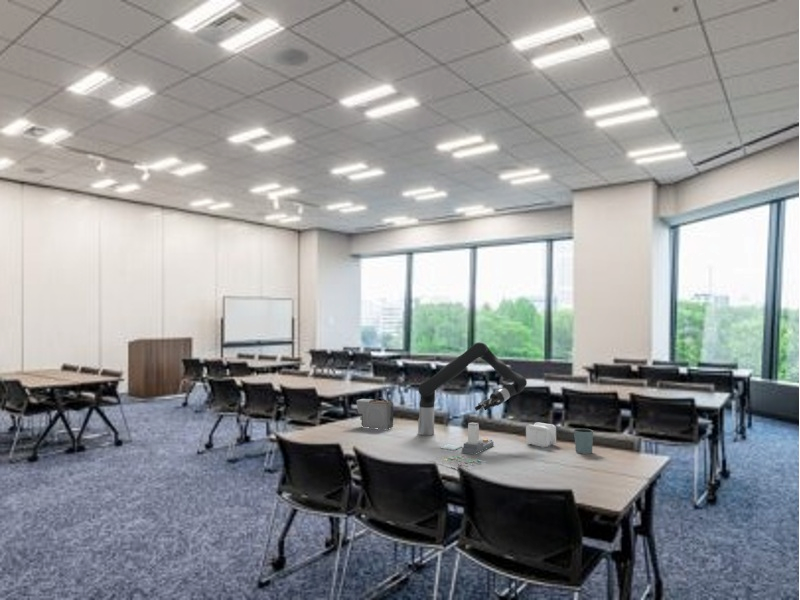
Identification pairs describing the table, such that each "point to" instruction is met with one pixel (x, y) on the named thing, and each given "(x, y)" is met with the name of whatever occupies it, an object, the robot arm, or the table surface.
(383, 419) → the grey boxy piece
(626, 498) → the table surface
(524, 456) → the table surface
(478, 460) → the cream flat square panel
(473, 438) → the block
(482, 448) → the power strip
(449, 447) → the mat
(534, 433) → the cable organizer
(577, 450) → the teal cup
